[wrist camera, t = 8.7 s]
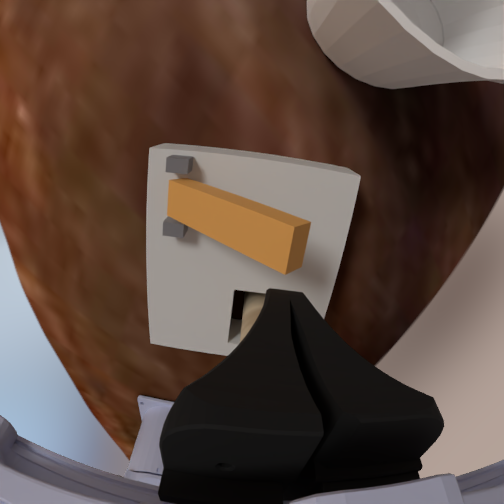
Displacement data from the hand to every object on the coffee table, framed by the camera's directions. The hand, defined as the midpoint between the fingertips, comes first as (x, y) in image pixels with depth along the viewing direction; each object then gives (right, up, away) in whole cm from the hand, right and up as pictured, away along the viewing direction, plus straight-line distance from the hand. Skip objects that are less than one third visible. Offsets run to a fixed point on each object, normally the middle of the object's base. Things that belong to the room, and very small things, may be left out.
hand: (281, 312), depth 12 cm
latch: (-2, +4, +4) cm, 6 cm away
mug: (+9, +17, +4) cm, 19 cm away
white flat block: (-2, +2, +11) cm, 11 cm away
